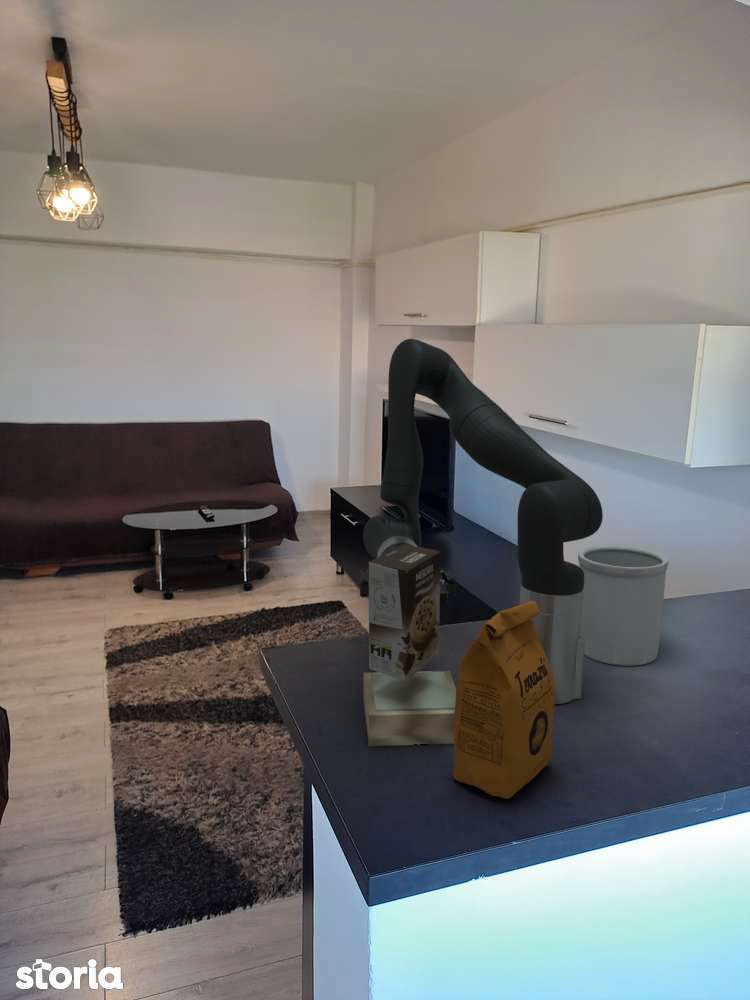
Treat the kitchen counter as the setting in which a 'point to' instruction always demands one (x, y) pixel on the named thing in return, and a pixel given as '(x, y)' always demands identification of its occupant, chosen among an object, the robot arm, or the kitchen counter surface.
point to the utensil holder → (622, 603)
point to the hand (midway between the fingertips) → (411, 599)
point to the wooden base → (409, 708)
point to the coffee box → (404, 610)
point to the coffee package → (504, 705)
